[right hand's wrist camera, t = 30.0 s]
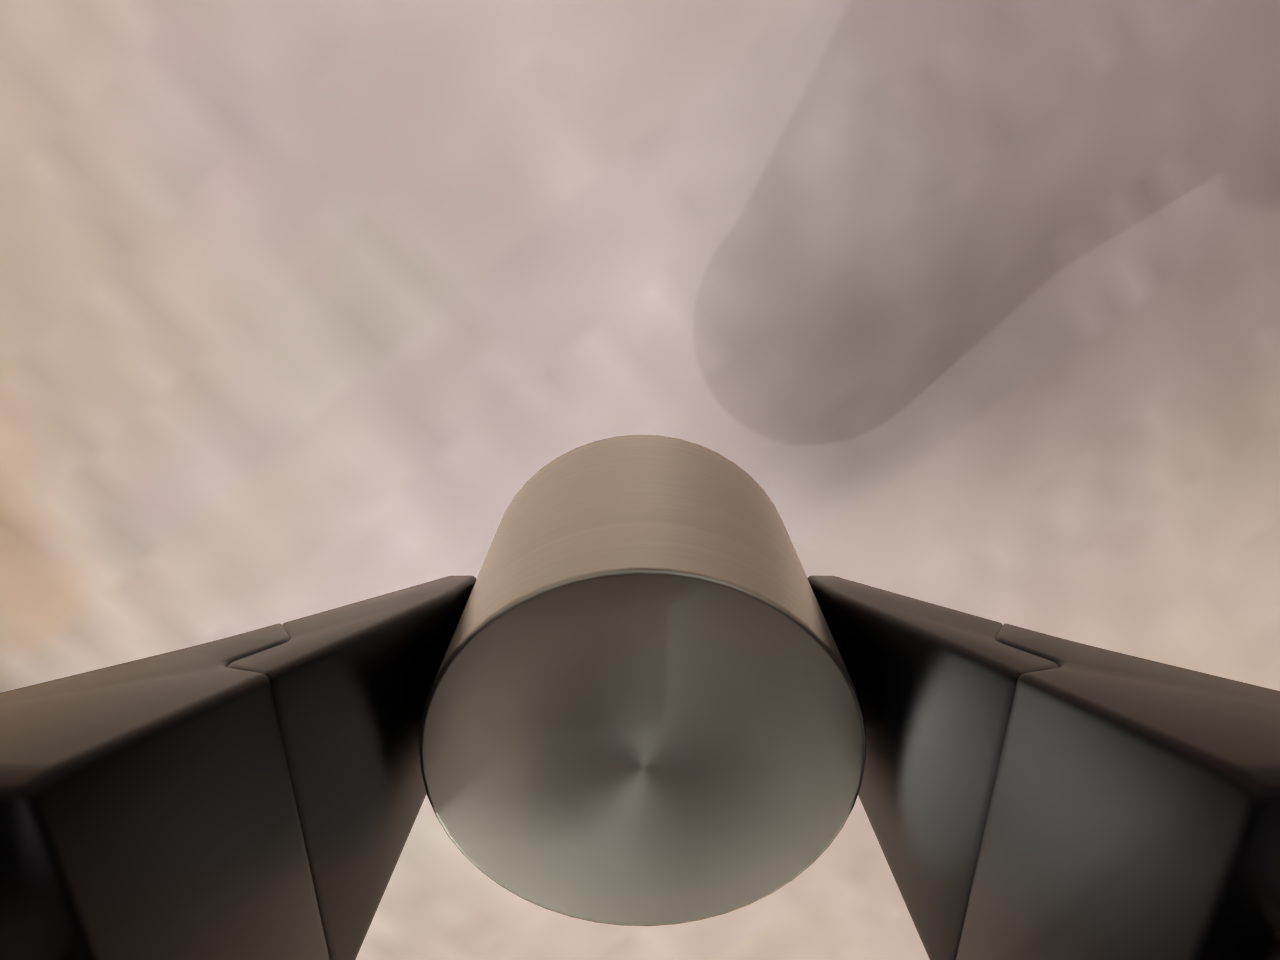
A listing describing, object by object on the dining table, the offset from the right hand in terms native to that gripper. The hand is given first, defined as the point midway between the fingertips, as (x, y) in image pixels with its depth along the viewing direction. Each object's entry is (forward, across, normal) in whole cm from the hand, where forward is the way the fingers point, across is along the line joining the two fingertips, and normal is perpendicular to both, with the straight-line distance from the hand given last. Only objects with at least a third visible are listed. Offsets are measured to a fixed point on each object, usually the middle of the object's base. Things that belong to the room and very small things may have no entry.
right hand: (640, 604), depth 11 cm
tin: (+1, 0, 0) cm, 1 cm away
